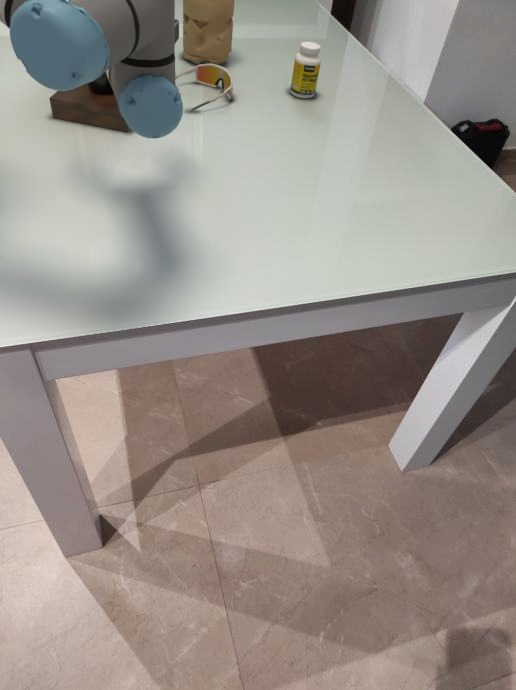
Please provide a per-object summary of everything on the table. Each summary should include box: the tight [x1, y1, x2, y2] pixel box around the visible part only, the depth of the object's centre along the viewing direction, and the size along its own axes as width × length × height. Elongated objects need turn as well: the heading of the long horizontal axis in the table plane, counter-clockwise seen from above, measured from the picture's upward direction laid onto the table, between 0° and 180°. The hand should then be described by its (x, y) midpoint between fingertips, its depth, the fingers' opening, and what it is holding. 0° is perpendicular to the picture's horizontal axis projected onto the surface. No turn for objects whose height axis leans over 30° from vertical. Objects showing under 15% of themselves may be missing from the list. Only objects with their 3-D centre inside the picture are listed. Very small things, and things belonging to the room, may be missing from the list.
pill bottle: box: [289, 41, 322, 99], centre depth 123 cm, size 6×6×11 cm
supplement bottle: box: [88, 72, 114, 94], centre depth 103 cm, size 7×7×12 cm
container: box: [182, 0, 236, 65], centre depth 128 cm, size 13×13×18 cm
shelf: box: [49, 83, 132, 133], centre depth 108 cm, size 16×18×6 cm
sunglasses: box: [175, 62, 234, 112], centre depth 118 cm, size 14×15×5 cm
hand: (106, 11), depth 84 cm, fingers open, 13 cm apart
